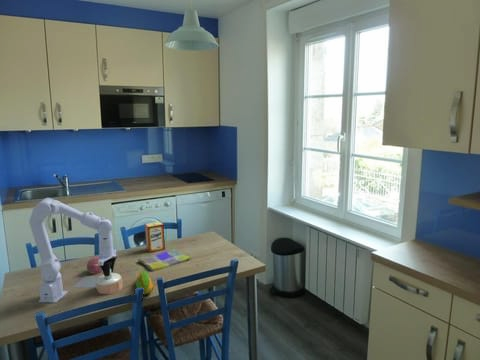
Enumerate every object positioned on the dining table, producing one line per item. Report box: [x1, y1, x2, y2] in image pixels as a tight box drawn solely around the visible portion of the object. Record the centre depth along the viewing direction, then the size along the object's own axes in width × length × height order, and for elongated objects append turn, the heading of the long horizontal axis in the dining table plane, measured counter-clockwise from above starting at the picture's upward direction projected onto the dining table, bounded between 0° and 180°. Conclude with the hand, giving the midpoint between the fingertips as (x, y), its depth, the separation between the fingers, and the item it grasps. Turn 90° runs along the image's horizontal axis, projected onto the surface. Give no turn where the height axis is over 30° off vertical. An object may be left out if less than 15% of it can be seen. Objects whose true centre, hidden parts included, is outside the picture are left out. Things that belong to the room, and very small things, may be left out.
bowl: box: [96, 276, 124, 295], centre depth 166 cm, size 11×11×4 cm
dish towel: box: [136, 248, 191, 272], centre depth 197 cm, size 18×24×3 cm
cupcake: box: [86, 256, 103, 275], centre depth 182 cm, size 9×8×12 cm
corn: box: [135, 269, 154, 295], centre depth 166 cm, size 7×8×20 cm
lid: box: [95, 268, 122, 285], centre depth 165 cm, size 11×11×5 cm
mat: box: [72, 275, 100, 289], centre depth 173 cm, size 12×12×1 cm
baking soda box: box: [144, 221, 166, 254], centre depth 213 cm, size 10×6×16 cm
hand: (108, 273), depth 165 cm, fingers closed on lid, 3 cm apart
